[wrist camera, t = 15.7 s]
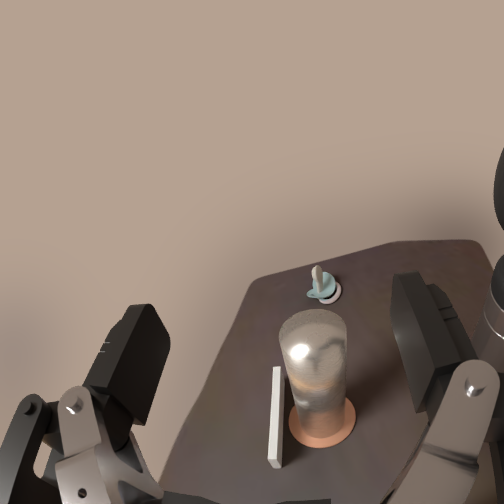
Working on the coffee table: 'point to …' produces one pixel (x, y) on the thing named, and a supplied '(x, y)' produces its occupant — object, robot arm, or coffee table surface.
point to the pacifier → (323, 286)
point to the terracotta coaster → (323, 442)
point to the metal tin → (316, 369)
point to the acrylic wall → (276, 419)
